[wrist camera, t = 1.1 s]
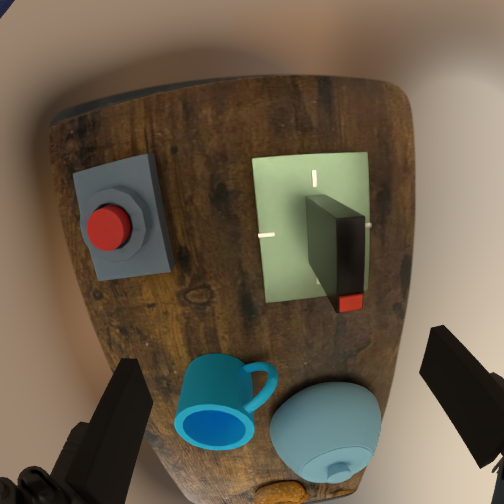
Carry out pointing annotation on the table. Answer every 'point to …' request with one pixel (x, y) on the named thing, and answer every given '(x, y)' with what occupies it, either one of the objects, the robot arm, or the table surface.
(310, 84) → the table surface
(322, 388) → the sugar bowl
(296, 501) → the bagel
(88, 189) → the button housing
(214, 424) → the mug
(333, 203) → the black slab
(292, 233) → the dial panel
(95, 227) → the button
